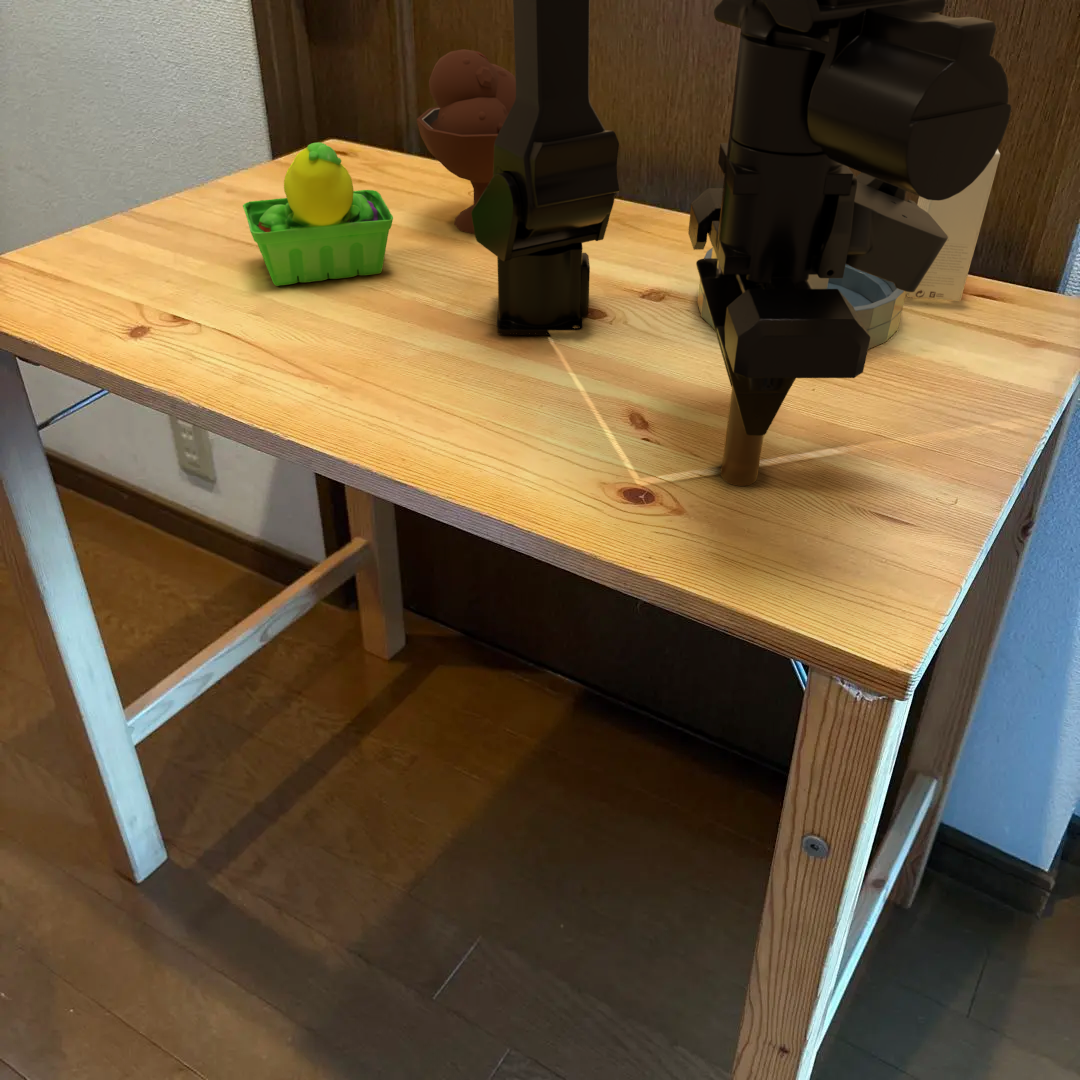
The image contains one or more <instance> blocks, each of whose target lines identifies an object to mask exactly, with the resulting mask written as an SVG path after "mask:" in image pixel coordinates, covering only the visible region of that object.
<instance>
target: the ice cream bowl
mask: <svg viewBox="0 0 1080 1080" xmlns="http://www.w3.org/2000/svg"><path fill="white" fill-rule="evenodd" d="M428 87H429V95H430V96H431V98H432V100H434V102H435V104H436V105H437V106H433V107H430V108H428V109H427V110H426V111H424V112H423V113H422V114H421V115H419V116H418V118H416V123H417V127H418V131H419V136H420V137H421V140H422V141H423V143H424V145H425V147H426V149H427V151H428V152H429V153H430V154H431V155H432V156H433V157H434V158H435V159H436V160H437V161H438V162H439V164H441V165H442V166H443V167H444V168H445V169H446V170H447V171H448V172H450V173H451V174H453V175H455V176H456V177H458V179H459V178H460V179H463V180H466V181H470V184H471V186H472V188H473V204H471V205H470V206H468V207H467V208H465V209H463V210H462V211H460V212H459V213H458V214H457V216H455V219H454V222H453V225H454V226H455V227H456V228H457V229H458V230H459V231H461V232H465V233H467V234H472V235H475V232H474V226H473V221H472V215H471V212H472V210H473V208H474V206H475V205H476V203H477V202H478V200H479V198H480V197H481V195H482V194H483V192H484V190H485V189H486V187H487V185H488V184H489V182H490V181H491V179H492V177H493V166H494V143H495V140H496V138H497V136H498V134H499V132H500V130H501V128H502V126H503V124H504V122H505V120H506V118H507V116H508V114H509V112H510V110H511V108H512V106H513V104H514V102H515V100H516V78H515V74H513V73H512V72H511V71H509V70H508V69H506V68H503V67H502V66H499V65H497V64H495V63H491V62H490V61H489V60H488V57H487V55H485V54H484V53H482V52H480V51H478V50H472V49H464V48H463V49H458V50H451V51H449V52H448V53H445V54H444V55H442V56H441V57H440V58H439V59H438V60H437V61H436V62H435V65H434V67H433V69H432V72H431V73H430V76H429V81H428Z"/></svg>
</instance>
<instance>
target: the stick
mask: <svg viewBox="0 0 1080 1080" xmlns="http://www.w3.org/2000/svg"><path fill="white" fill-rule="evenodd" d="M730 391H731V393H730V400H729V406H728V407H729V408H728V414H727V415H728V416H727V422H726V431H725V437H724V446H723V453H722V462H721V469H720V477H721V478H722V480H723V481H724V482H726V483H727V484H730V485H733V486H737V487H738V486H739V487H741V486H742V487H744V486H745V487H746V486H750V485H753V484H754V483H755V482H756V481H757V479H758V475H759V468H760V462H761V456H762V450H763V449H762V448H763V444H764V436H765V435H762V436H749V435H747V434H746V432H745V429H744V425H743V422H742V418H741V415H740V411H739V407H738V404H737V400H736V397H735V393H734V389H733V386H732V388H731V390H730Z"/></svg>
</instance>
